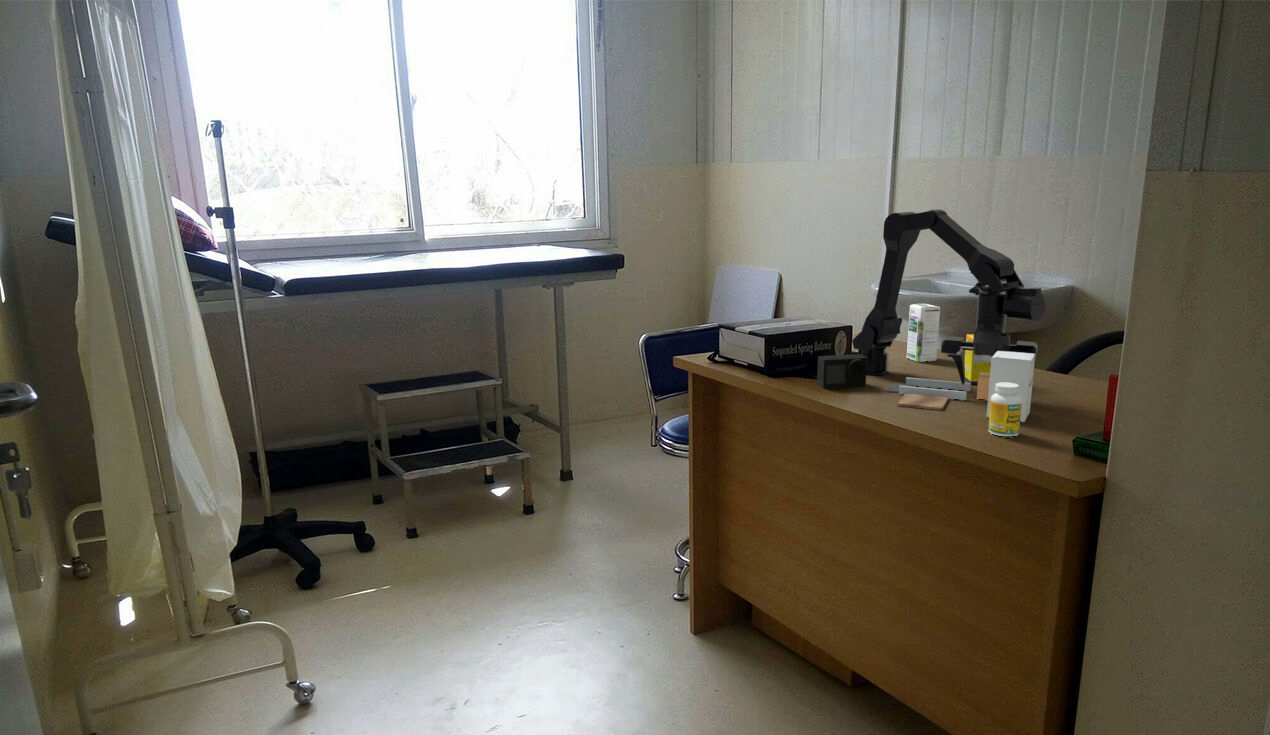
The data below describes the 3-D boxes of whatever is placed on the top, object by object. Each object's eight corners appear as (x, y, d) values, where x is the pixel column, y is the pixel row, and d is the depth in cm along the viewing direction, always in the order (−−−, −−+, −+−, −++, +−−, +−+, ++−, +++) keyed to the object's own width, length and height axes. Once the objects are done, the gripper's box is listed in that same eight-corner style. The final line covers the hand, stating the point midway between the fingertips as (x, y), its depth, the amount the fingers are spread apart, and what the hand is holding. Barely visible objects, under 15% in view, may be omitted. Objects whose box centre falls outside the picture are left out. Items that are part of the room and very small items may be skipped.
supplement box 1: (988, 378, 196) (992, 333, 194) (996, 385, 190) (1000, 338, 188) (962, 378, 197) (965, 333, 194) (970, 384, 191) (973, 338, 189)
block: (976, 399, 179) (978, 377, 178) (978, 394, 183) (980, 372, 182) (1001, 402, 177) (1003, 379, 176) (1003, 396, 181) (1005, 374, 180)
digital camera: (824, 390, 189) (825, 360, 188) (816, 384, 195) (817, 355, 193) (868, 388, 191) (869, 358, 189) (859, 382, 196) (860, 353, 194)
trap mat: (886, 391, 187) (886, 390, 187) (892, 384, 193) (892, 383, 193) (908, 393, 184) (909, 392, 184) (914, 386, 191) (914, 385, 190)
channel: (898, 394, 184) (899, 386, 184) (906, 384, 192) (906, 377, 192) (965, 400, 178) (966, 392, 178) (970, 390, 186) (970, 382, 186)
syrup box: (905, 358, 219) (908, 304, 216) (925, 356, 221) (928, 302, 217) (917, 362, 214) (920, 307, 211) (937, 361, 215) (941, 306, 212)
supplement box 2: (1025, 423, 162) (1031, 360, 159) (985, 418, 166) (990, 356, 163) (1030, 413, 168) (1036, 353, 165) (991, 408, 172) (996, 349, 169)
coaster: (897, 406, 175) (897, 403, 175) (905, 395, 183) (905, 393, 183) (942, 410, 171) (942, 407, 171) (947, 400, 179) (948, 397, 179)
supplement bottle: (1000, 427, 159) (1004, 379, 157) (1025, 435, 155) (1029, 385, 152) (981, 432, 157) (985, 383, 154) (1006, 440, 152) (1010, 389, 150)
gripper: (939, 319, 174) (935, 390, 177) (1038, 324, 165) (1031, 399, 169) (947, 311, 183) (942, 379, 187) (1040, 315, 175) (1033, 387, 178)
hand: (985, 386), depth 180 cm, fingers open, 9 cm apart
